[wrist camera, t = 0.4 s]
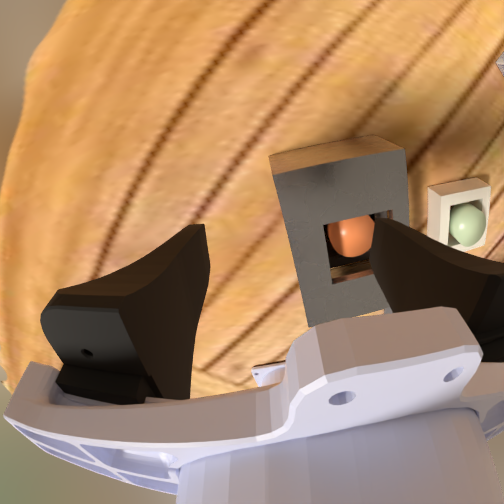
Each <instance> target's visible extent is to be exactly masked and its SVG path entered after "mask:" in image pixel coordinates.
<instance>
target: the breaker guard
mask: <svg viewBox="0 0 504 504" xmlns="http://www.w3.org/2000/svg"><path fill="white" fill-rule="evenodd" d="M269 160H270V165H271V170H272V175H273V179H274V183H275V186H276V190H277V194H278V198H279V202H280V206H281V210H282V214H283V218H284V222H285V226H286V230H287V234H288V238H289V242H290V246H291V251H292V255H293V259H294V263H295V268H296V272H297V276H298V281H299V285H300V290H301V294H302V299H303V303H304V308H305V312H306V317H307V322H308V327H314V326H316V325H319V324H323V323H326V322H330V321H334V320H337V319H342V318H352V317H356V316H360V315H363V314H367V313H371V312H375V311H378V310H382V309H385V308H389V307H390V306H389V304H388V302H387V300H386V298H385V296H384V294H383V292H382V290H381V288H380V286H379V284H378V282H377V280H376V278H375V275H374V273H373V270H372V267H371V264H370V261H369V260H368V261H364V262H360V263H356V264H352V265H348V266H344V267H340V268H336V269H331V270H330V268H333V267H337V266H342V265H346V264H350V263H354V262H358V261H362V260H366V259H369V256H370V250H371V248H370V249H369V250H368V251H367V252H365V253H363V254H362V255H359V256H356V257H346V256H342V255H340V254H339V253H337V252H336V251H335V249H334V248H333V246H332V243H331V241H330V242H326V240H325V234H324V228H323V225H325V224H330V223H334V222H338V221H343V220H347V219H351V218H356V217H360V216H365V215H369V216H370V218H371V219H372V220H373V221H374V223H375V218H387V210H389V218H390V219H393V220H395V221H398V222H400V223H402V224H404V225H406V226H408V227H409V198H408V179H407V166H406V155H405V149H404V148H402V147H400V146H398V145H396V144H394V143H391V142H389V141H387V140H385V139H383V138H380V137H378V136H376V135H369V136H363V137H357V138H351V139H345V140H340V141H335V142H329V143H324V144H319V145H315V146H310V147H305V148H300V149H296V150H292V151H287V152H283V153H279V154H274V155H270V156H269Z"/></svg>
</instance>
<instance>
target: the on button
mask: <svg viewBox="0 0 504 504" xmlns="http://www.w3.org/2000/svg"><path fill="white" fill-rule="evenodd" d="M485 228H486V217H485V215H484V213H483V212H481V211H480V210H479V209H477V208H476V207H475V206H473V205H472V204H471V203H469V202H465V203H460V204H456V205H454V206H453V207H452V208H451V210H450V219H449V233H450V234H451V235H452V236H453V237H454V238H455V239H456V240H457V241H458V242H459V243H460V244H461V245H463V246H465V247H470V246H472V245H474V244H476V243H477V242H478V241H479V240H480V239H481V237H482V235H483V234H484V231H485Z"/></svg>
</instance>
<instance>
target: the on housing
mask: <svg viewBox="0 0 504 504" xmlns="http://www.w3.org/2000/svg"><path fill="white" fill-rule="evenodd" d="M490 195H491V186H490V185H489V184H487V183H485V182H484V181H482V180H480V179H479V178H477V177H476V178H471V179H465V180H460V181H454V182H449V183H444V184H439V185H434V186H429V187H428V224H427V236H428V237H430V238H432V239H434V240H436V241H438V242H441V243H443V244H445V245H447V246H449V247H452V248H455V249H457V250H460V251H462V252H465V251H468V250H471V249H474V248H477V247H480V246H483V245H485V239H486V232H487V225H488V216H489V207H490ZM465 202H469V203H471V204H472V205H473V206H475V207H476V208H477V209H479V210H480V211H481V212H483V213H484V215H485V217H486V228H485V231H484V234H483V235H482V237H481V239H480V240H479V241H478V242H477V243H476V244H474V245H472V246H470V247H465V246H463V245H461V244H460V243H459V242H458V241H457V240H456V239H455V238H454V237H453V236H452V235H451V234H450V233H449V219H450V206H452V205H456V204H460V203H465Z"/></svg>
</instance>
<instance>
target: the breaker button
mask: <svg viewBox="0 0 504 504" xmlns="http://www.w3.org/2000/svg"><path fill="white" fill-rule="evenodd" d="M374 225H375V223H374V221H373V220H372V219H371V218H370V216H369V215H365V216H360V217H356V218H351V219H347V220H343V221H338V222H334V223H330V224H325V229H326V232H327V235H328V237H329V239H330V241H331V243H332V246H333V248H334V249H335V251H336V252H337V253H339V254H340V255H342V256H346V257H356V256H359V255H362V254H363V253H365V252H367V251H368V250H369V249H370V248H371V244H372V238H373V232H374Z"/></svg>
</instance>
